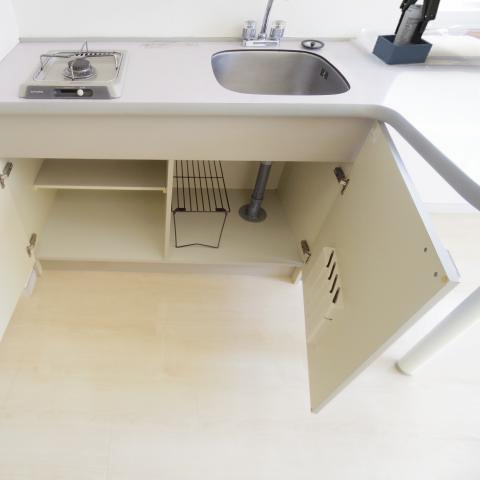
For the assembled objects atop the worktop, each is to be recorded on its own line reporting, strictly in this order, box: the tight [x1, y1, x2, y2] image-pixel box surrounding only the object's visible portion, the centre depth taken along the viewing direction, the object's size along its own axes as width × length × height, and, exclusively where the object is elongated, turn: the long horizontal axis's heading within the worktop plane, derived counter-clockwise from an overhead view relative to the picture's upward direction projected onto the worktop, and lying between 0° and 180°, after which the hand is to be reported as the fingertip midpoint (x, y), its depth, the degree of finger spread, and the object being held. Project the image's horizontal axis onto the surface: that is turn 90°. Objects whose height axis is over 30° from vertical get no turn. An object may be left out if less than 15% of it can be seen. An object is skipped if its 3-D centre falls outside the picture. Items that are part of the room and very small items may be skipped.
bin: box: [372, 34, 434, 65], centre depth 123 cm, size 13×13×6 cm
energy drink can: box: [393, 3, 423, 46], centre depth 119 cm, size 6×6×15 cm
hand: (406, 38), depth 121 cm, fingers open, 10 cm apart
